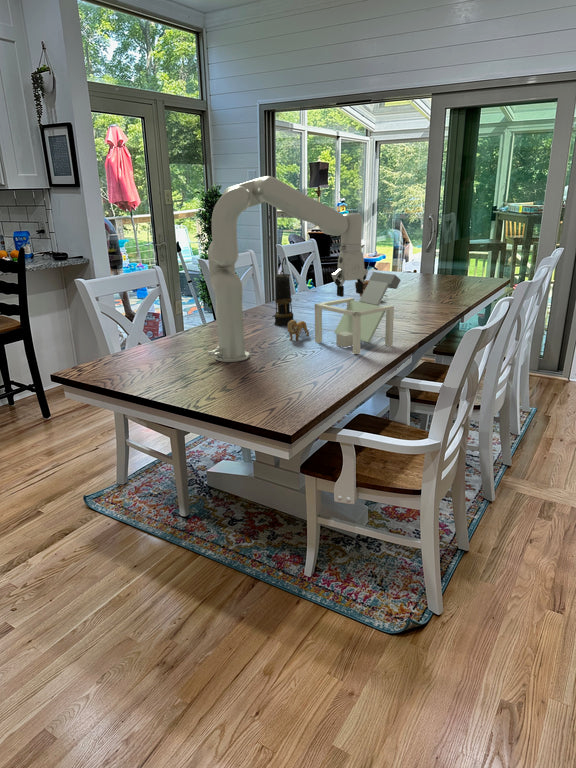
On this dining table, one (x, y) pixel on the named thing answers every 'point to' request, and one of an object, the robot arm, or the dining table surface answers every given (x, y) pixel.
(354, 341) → the trapdoor frame
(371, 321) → the trapdoor plate
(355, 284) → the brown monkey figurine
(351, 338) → the stone block
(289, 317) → the lantern
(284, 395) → the dining table surface
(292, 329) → the lion figurine
